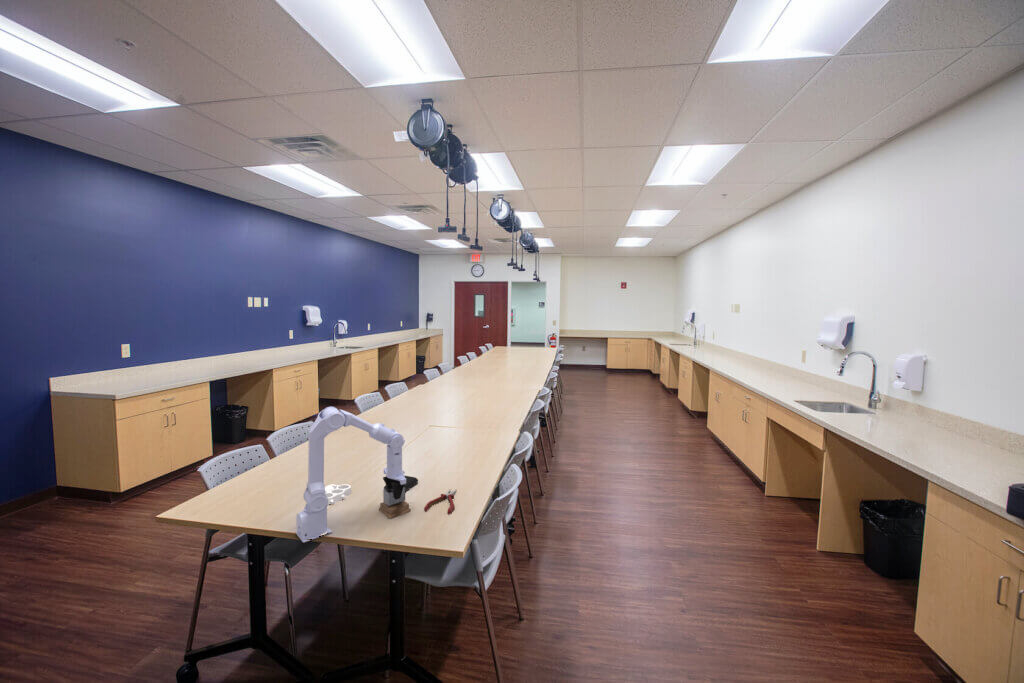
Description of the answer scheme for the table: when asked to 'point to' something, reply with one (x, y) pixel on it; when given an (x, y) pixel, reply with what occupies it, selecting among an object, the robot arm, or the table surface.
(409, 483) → the carrying case or bag
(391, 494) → the block
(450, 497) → the pliers
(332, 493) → the white brass knuckles
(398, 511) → the stand
